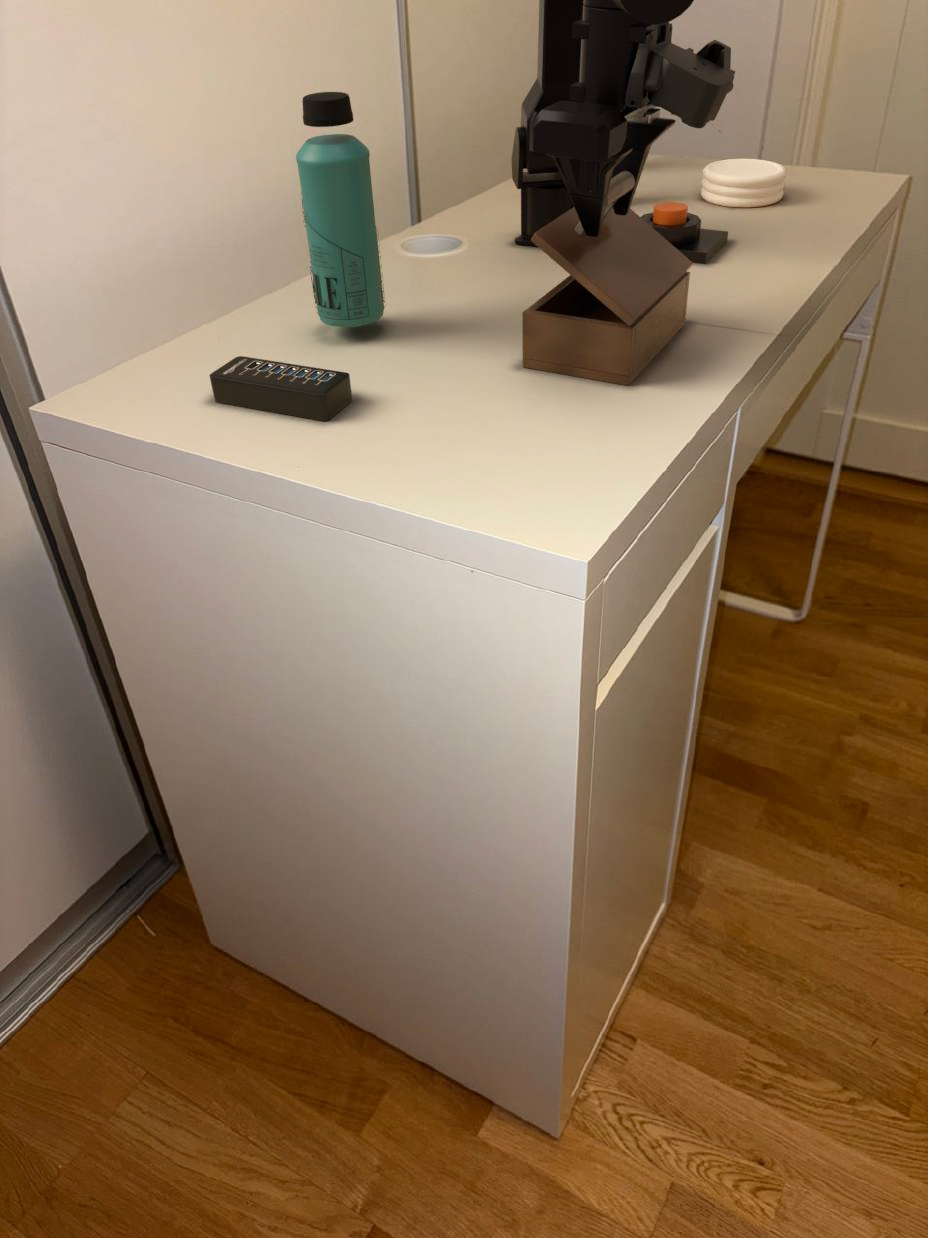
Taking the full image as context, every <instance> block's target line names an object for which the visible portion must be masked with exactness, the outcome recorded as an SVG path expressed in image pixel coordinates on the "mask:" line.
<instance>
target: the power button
mask: <svg viewBox="0 0 928 1238" xmlns="http://www.w3.org/2000/svg"><path fill="white" fill-rule="evenodd" d="M652 210H653V211H652V212H653V223H656V224H662V225H680V224H684V223H686V222H687V212H688V210H689V207H688V205H687V204H685V203H683V202H677V201H663V202H658V203H655V204H654V205H653V209H652Z"/></svg>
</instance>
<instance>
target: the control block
mask: <svg viewBox="0 0 928 1238" xmlns="http://www.w3.org/2000/svg"><path fill="white" fill-rule="evenodd" d="M640 217H641V218H642V219H643V220H644V221H645V222H646V223H648V224H649V225H650V226H651V227H652V228H653V229H655V230H656V231H657V232H658V233H659V234H660V235H661V236H663V237H664V238H665V239H666V240H667V241H668V242H669V243H671V244H672V245H673V246H674V247H675V248H676V249H678V250H679V251H680V252H681V253H682V254H683V255H684V256H686V257H687V258H688V259H689V260H690V261H691V262H692V263H693V264H699V265H706V264H707V263H708V262H709V261H710V260H711V259H712V258H713V257H714V256H715V255H716V254H717V253H719V251H720V250H721V249H723V247H724V246H725V245H726V244H727V243H728V239H729V238H728V237H729V231H726V230H717V229H709V228H708V229H707V228H702V219H701V218H700V217H699V216H698V215H697V214H693V213H691V212H688V211H687V222H686V223H684V224H680V225H662V224H656V223H653V211H652V212H649V213H645V214H642V215H641V216H640Z"/></svg>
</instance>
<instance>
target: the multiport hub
mask: <svg viewBox="0 0 928 1238" xmlns="http://www.w3.org/2000/svg"><path fill="white" fill-rule="evenodd" d="M209 380H210V384H211V390H212V394H213V400H214V402H215V403H219V404H224V405H231V406H236V407H242V408H246V409H247V408H248V409H252V410H257V411H264V412H268V413H269V412H270V413H275V414H281V415H285V416H292V417H298V418H304V419H308V420H314V421H320V422H327V421H330V420H331V419H332V418H333V417H335V416H336V415H337V414H338V413H340V411H342V410H343V409H344V408H345V407H347V406H348V405H349V404H351V403H352V401H353V394H352V384H351V375H350V373H349V372H345V371H339V370H333V369H326V368H319V367H314V366H309V365H308V366H306V365H300V364H294V363H289V362H288V363H287V362H283V361H282V362H281V361H275V360H270V359H262V358H256V357H250V356H243V355H240V356H236V357H233V358H232V359H231V360H229V361H228V362H226V363H225V364H223V365H222V366H219V368H217V369H215V370H214V371H213V372H211V373H210V374H209Z"/></svg>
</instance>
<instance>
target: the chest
mask: <svg viewBox="0 0 928 1238" xmlns="http://www.w3.org/2000/svg"><path fill="white" fill-rule="evenodd" d="M690 276H691V272H690V271H688V270H687V271H686V272H685V273H684V274H683V275H682V276H681V277H680V278H679V279H678V280H677V281H676V282H675V283H674V284H673V285H672V286H671V287H670V288H669V289H668V290H667V291H666V292H665V293H664V294H663V295H662V296H661V297H660V298H659V299H658V300H657V301H656V302H655V303H654V304H653V305H652V306H651V307H650V308H649V309H648V310H647V311H646V312H644V313H643V314H642V315H641V316H640V317H639V318H638V319H637V320H636V321H635V322H634V323H633V324H632V325H631V326H629V325H627V324H626V323H625V322H624V321H623V320H622V319H621V318H619V317H618V316H617V315H616V314H615V313H614V312H613V311H611V310H610V309H609V308H608V307H607V306H606V305H604V304H603V303H602V302H601V301H600V300H599V299H598V298H596V297H595V296H594V295H593V294H592V293H591V292H589V291H588V290H587V289H586V288H585V287H584V286H583V285H581V284H580V283H579V282H578V281H577V280H576V279H575V278H573V277H572V276H571V275H570V274H569V275H568V276H567V277H566V278H564V279H563V280H562V281H561V282H559V283H557V285H556V286H554V287H553V288H552V289H550V290H549V291H548V292H546V293H545V295H543V296H541V297H540V298H539V299H538V300H537V301H535V302H534V303H533V304H532V305H530V306H529V307H527V308H526V309H525V310H523V312H522V368H526V369H532V370H537V371H543V372H548V373H549V372H550V373H555V374H560V375H566V376H572V377H577V378H582V379H589V380H595V381H600V382H606V383H612V384H617V385H622V386H630V385H631V383H632V382H633V381H635V379H636V378H637V377H638V376H639V375H640V374H641V373H642V372H643V370H645V368H646V367H647V366H648V365H649V364H650V363H651V361H653V360H654V358H655V357H657V355H658V354H660V352H661V351H662V350H663V349H664V347H666V345H667V344H668V343H669V342H670V341H671V340H672V339H673V338H674V337H675V335H676V334H677V333H678V332H679V331H680V330H681V329H682V328H683V327H684V326H685V325H686V318H687V317H686V315H687V308H688V299H689V296H688V295H689V288H690V287H689V286H690V279H691V278H690Z"/></svg>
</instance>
